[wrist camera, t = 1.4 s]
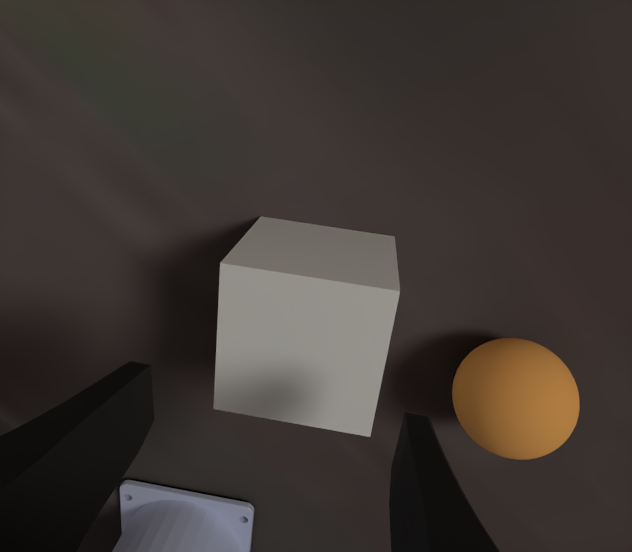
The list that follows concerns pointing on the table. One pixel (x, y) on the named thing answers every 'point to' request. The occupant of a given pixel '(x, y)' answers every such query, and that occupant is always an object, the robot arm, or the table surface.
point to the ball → (515, 398)
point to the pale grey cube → (305, 324)
